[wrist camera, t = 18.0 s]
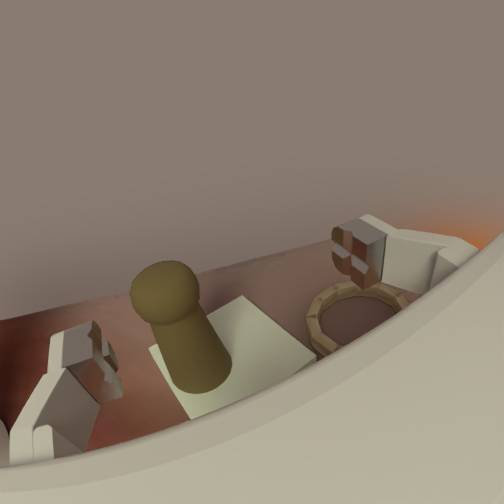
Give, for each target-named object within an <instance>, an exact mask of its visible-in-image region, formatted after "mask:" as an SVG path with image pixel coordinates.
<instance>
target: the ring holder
mask: <svg viewBox="0 0 504 504" xmlns="http://www.w3.org/2000/svg"><path fill="white" fill-rule="evenodd" d="M353 296H364V297H372V298H377V299H379V300H381V301H383V302H385V303H386V304H388V305H390V306H392V307H393V308H394V310H395V312H396V313H398V312H400V311H401V310H403V309H404V308H406V307H407V306H408V305H410V304H409V303H408V301H407V300H406V298H405V297H404V295H403V294H402V292H400V291H398V290H396V289H394V288H392V287H390V286H388V285H386V284H384V283H382V282H379V283H377V284H375V285H373V286H371V287H369V288H367V289H365V290H362V289H361V288H360V287H359V286H357V285H356V284H355V283H353V282H352V281H351V280H350V281H346V282H341V283H337V284H332V285H331V286H330V287H328V288H327V289H325V290H324V291H323V292H321V293H320V294H318V295H317V296H316V297H314V298H313V301H312V303H311V306H310V308H309V310H308V313H307V315H306V327H307V330H308V333H309V336H310V340H311V343H312V347H313V348H314V349H315V350H316V351H318V352H319V353H320V354H322V355H323V356H324V357H326V356H328V355H330V354H332V353H334V352H335V351H337V350H339V349H341V348H342V347H344V346H340V345H338V344H337V343H336V342H334V341H333V340H331V339H330V338H329V337H327V336H326V335H324V334H323V333H322V331H321V328H320V325H319V320H320V318H321V315H322V312H323V311H324V310H325V309H327V308H328V307H329V306H331V305H332V304H333V303H335V302H336V301H337V300H341V299H345V298H349V297H353Z"/></svg>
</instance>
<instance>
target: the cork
mask: <svg viewBox="0 0 504 504" xmlns="http://www.w3.org/2000/svg"><path fill="white" fill-rule="evenodd" d="M130 296H131V300H132V305H133V307H134V309H135V311H136V312H137V313H138V314H139V315H140V316H141V317H142V318H143V319H144V320H145V321H146V322H148V323H150V325H151V328H152V330H153V333H154V336H155V339H156V341H157V344H158V347H159V349H160V352H161V355H162V357H163V360H164V362H165V365H166V367H167V370H168V372H169V375H170V377H171V380H172V382H173V384H174V385H175V386H176V387H177V388H178V389H179V390H181V391H184V392H186V393H191V394H201V393H207V392H209V391H211V390H214V389H216V388H218V387H219V386H220V385H221V384H222V383H224V382H225V380H226V379H227V377H228V376H229V374H230V372H231V368H232V359H231V356H230V354H229V353H228V351H227V349H226V348H225V346H224V345H223V343H222V341H221V340H220V338H219V336H218V335H217V333H216V331H215V330H214V328H213V326H212V325H211V323H210V321H209V320H208V318H207V316H206V315H205V313H204V311H203V310H202V308H201V306H200V304H199V303H198V301H199V298H200V296H199V283H198V280H197V278H196V276H195V274H194V273H193V272H192V270H191V269H190V268H189V267H188V266H186V265H185V264H183V263H181V262H178V261H162V262H158V263H155V264H153V265H150V266H149V267H147V268H146V269H144V270H143V271H142V272H140V273H139V274H138V275H137V276H136V278H135V279H134V281H133V282H132V286H131V291H130Z"/></svg>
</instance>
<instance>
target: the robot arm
mask: <svg viewBox="0 0 504 504" xmlns="http://www.w3.org/2000/svg"><path fill="white" fill-rule="evenodd" d="M332 240H333V241H334V243H335V245H334V247H333V249H332V259H333V262H334V265H335V266H336V268H337V269H338V270H339V271H340V272H341V273H342V274H345V275H350V277H351V281H352V282H353V283H355V284H356V285H357V286H359V287H360V288H361V289H362V290H365V289H367V288H369V287H371V286H373V285H375V284H377V283H379V282H380V281H382V282H383V283H386V284H389V285H392V286H395V287H398V288H401V289H404V290H408V291H411V292H414V293H417V294H420V295H423V296H421V297H420V298H418V299H417V300H416V301H414V302H413V303H411V304H410V305H408V306H407V307H406V308H404V309H403V310H401V311H400V312H398V313H397V314H395V315H394V316H392V317H391V318H389V319H388V320H386V321H385V322H383V323H381V324H380V325H378V326H377V327H375V328H374V329H372V330H370V331H369V332H367V333H366V334H364V335H362V336H361V337H359V338H357V339H356V340H354V341H352V342H351V343H349V344H347V345H346V346H344V347H342V348H341V349H339V350H337V351H335V352H334V353H332V354H330V355H328V356H326V357H325V358H323V359H321V360H319V361H317V362H316V363H314V364H312V365H310V366H308V367H306V368H304V369H302V370H301V371H299V372H297V373H295V374H293V375H291V376H289V377H287V378H285V379H283V380H281V381H279V382H277V383H275V384H273V385H271V386H268V387H266V388H264V389H262V390H260V391H258V392H256V393H254V394H251V395H249V396H247V397H245V398H242V399H240V400H238V401H236V402H233V403H231V404H229V405H226V406H224V407H222V408H219V409H217V410H214V411H212V412H209V413H207V414H204V415H202V416H199V417H197V418H194V419H191V420H189V421H186V422H183V423H181V424H178V425H175V426H172V427H169V428H167V429H164V430H161V431H158V432H155V433H152V434H149V435H146V436H142V437H139V438H136V439H133V440H129V441H126V442H122V443H119V444H115V445H112V446H108V447H104V448H100V449H97V450H93V451H88V452H86V448H87V445H88V442H89V438H90V435H91V432H92V429H93V426H94V423H95V420H96V417H97V414H98V411H99V408H100V404H103V403H106V402H109V401H111V400H114V399H117V398H120V397H122V396H123V391H122V386H121V380H120V378H119V377H118V375H117V374H116V372H117V370H118V362H117V359H116V356H115V353H114V351H113V349H112V347H111V345H110V343H109V342H108V340H106V339H104V338H102V336H101V329H100V328H99V326H98V325H97V323H96V322H95V321H90V322H87V323H84V324H81V325H78V326H76V327H73V328H70V329H67V330H65V331H61V332H59V333H56V334H53V335H52V336H51V339H50V348H49V359H48V373H47V374H44V375H43V377H42V378H41V380H40V381H39V383H38V385H37V386H36V388H35V389H34V391H33V393H32V394H31V396H30V398H29V399H28V401H27V403H26V404H25V406H24V408H23V410H22V411H21V413H20V415H19V417H18V418H17V420H16V422H15V424H14V425H13V427H12V429H11V431H10V441H9V436H8V432H7V430H6V427H5V425H4V423H3V422H2V421H1V419H0V504H504V230H503V231H502V232H501V233H500V234H499V235H498V236H496V237H495V238H494V239H493V240H492V241H491V242H490V243H489V244H487V245H486V246H485V247H484V248H483V249H482V250H479V249H478V248H476V247H474V246H473V245H471V244H469V243H467V242H466V241H464V240H462V239H460V238H459V237H453V236H447V235H440V234H434V233H427V232H420V231H413V230H406V229H400V230H398V229H396V228H394V227H392V226H391V225H389V224H387V223H385V222H383V221H381V220H379V219H378V218H376V217H374V216H372V215H370V214H365V215H363V216H361V217H358V218H356V219H354V220H352V221H349V222H347V223H345V224H342V225H340V226H337V227H335V228H333V230H332ZM9 465H10V466H9Z"/></svg>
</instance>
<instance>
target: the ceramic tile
mask: <svg viewBox="0 0 504 504" xmlns="http://www.w3.org/2000/svg"><path fill="white" fill-rule="evenodd" d="M207 318H208V320H209V321H210V323H211V325H212V326H213V328H214V330H215V331H216V333H217V335H218V336H219V338H220V340H221V341H222V343H223V345H224V346H225V348H226V349H227V351H228V353H229V354H230V356H231V359H232V368H231V372H230V374H229V376H228V377H227V379H226V380H225V382H224V383H222V384H221V385H220V386H219V387H218V388H216V389H214V390H211V391H209V392H207V393H201V394H191V393H186V392H184V391H181V390H179V389H178V388H177V387H176V386H175V385H174V384H173V382H172V380H171V377H170V375H169V372H168V370H167V367H166V365H165V362H164V360H163V357H162V355H161V352H160V349H159V347H158V344H155V345H153V346H152V347H150V348H148V349H149V351H150V352H151V354H152V356H153V358H154V360H155V361H156V363H157V365H158V367H159V368H160V370H161V372H162V374H163V375H164V377H165V379H166V380H167V382H168V384H169V385H170V387H171V389H172V390H173V392H174V394H175V395H176V397H177V398H178V400H179V402H180V403H181V405H182V406H183V408H184V410H185V411H186V413H187V414H188V416H189V417H190V419H194V418H197V417H199V416H202V415H204V414H207V413H209V412H212V411H214V410H217V409H219V408H222V407H224V406H226V405H229V404H231V403H233V402H236V401H238V400H240V399H242V398H245V397H247V396H249V395H251V394H254V393H256V392H258V391H260V390H262V389H264V388H266V387H268V386H271V385H273V384H275V383H277V382H279V381H281V380H283V379H285V378H287V377H289V376H291V375H293V374H295V373H297V372H299V371H301V370H302V369H304V368H306V367H308V366H310V365H312V364H313V363H315V362H316V361H317V355H315V354H314V353H313V352H312V351H310V350H309V349H308V348H306V347H305V346H304V345H303V344H301V343H300V342H299V341H298V340H296V339H295V338H294V337H293V336H291V335H290V334H289V333H288V332H286V331H285V330H284V329H283V328H282V327H280V326H279V325H278V324H277V323H275V322H274V321H273V320H272V319H270V318H269V317H268V316H267V315H266V314H264V313H263V312H262V311H261V310H259V309H258V308H257V307H256V306H255V305H253V304H252V303H251V302H250V301H249V300H247V299H246V298H245V297H244V296H243V295H241V296H240V297H238V298H236V299H234V300H233V301H231V302H229V303H228V304H226V305H224V306H222V307H221V308H219V309H217V310H215V311H214V312H212V313H210V314H208V315H207Z"/></svg>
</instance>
